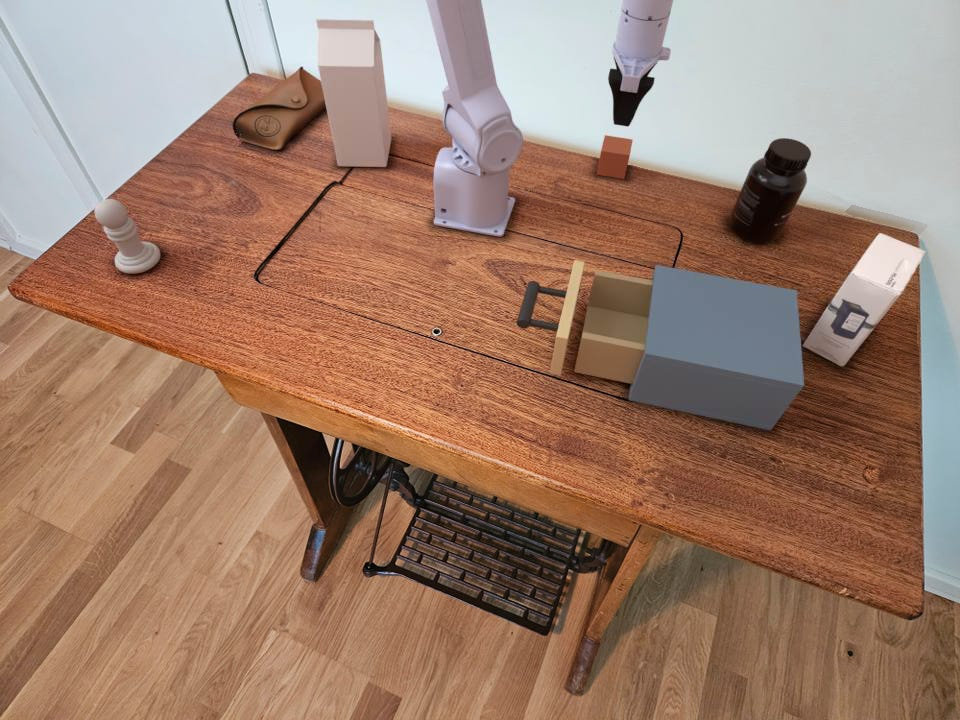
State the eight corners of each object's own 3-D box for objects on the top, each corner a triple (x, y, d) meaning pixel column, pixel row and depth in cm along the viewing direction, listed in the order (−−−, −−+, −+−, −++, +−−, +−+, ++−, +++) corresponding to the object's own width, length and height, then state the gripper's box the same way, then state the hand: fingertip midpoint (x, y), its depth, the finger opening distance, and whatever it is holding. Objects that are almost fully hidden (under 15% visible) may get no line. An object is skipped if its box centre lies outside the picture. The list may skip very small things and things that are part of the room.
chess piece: (109, 274, 76) (72, 216, 69) (126, 245, 79) (92, 186, 72) (152, 276, 76) (119, 218, 69) (168, 246, 79) (138, 188, 72)
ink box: (828, 304, 74) (880, 228, 65) (870, 325, 73) (929, 249, 63) (800, 346, 70) (851, 271, 61) (843, 369, 68) (902, 295, 59)
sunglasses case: (281, 150, 91) (251, 108, 87) (254, 161, 95) (224, 122, 92) (346, 92, 101) (321, 52, 98) (318, 104, 106) (294, 67, 102)
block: (596, 174, 90) (601, 150, 86) (600, 159, 92) (604, 134, 89) (624, 179, 89) (629, 155, 86) (627, 163, 91) (632, 139, 88)
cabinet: (628, 400, 66) (645, 353, 59) (639, 314, 73) (656, 264, 67) (770, 431, 63) (804, 385, 57) (767, 339, 71) (797, 290, 65)
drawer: (508, 365, 67) (511, 327, 62) (529, 291, 74) (534, 252, 69) (676, 400, 65) (694, 364, 60) (682, 321, 71) (698, 282, 66)
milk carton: (386, 168, 90) (369, 33, 75) (337, 167, 90) (311, 32, 75) (391, 140, 94) (376, 7, 79) (345, 139, 94) (321, 6, 79)
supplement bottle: (782, 248, 80) (824, 170, 71) (728, 241, 81) (762, 162, 72) (777, 215, 84) (816, 136, 75) (726, 208, 85) (758, 129, 76)
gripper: (676, 42, 68) (648, 150, 79) (683, -12, 77) (657, 93, 87) (612, 34, 69) (593, 142, 80) (626, -18, 78) (607, 85, 88)
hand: (623, 116), depth 84 cm, fingers open, 3 cm apart
